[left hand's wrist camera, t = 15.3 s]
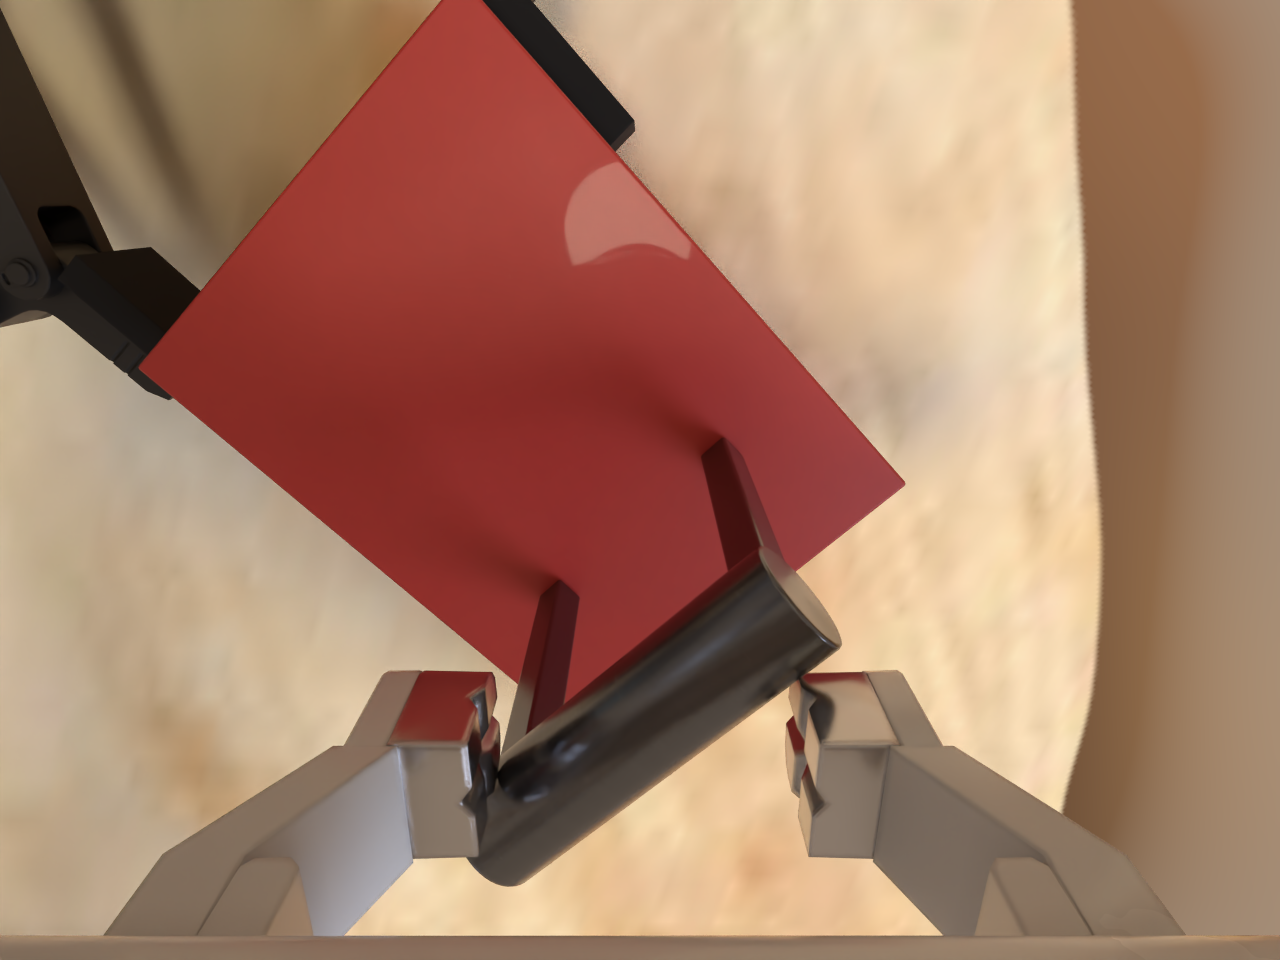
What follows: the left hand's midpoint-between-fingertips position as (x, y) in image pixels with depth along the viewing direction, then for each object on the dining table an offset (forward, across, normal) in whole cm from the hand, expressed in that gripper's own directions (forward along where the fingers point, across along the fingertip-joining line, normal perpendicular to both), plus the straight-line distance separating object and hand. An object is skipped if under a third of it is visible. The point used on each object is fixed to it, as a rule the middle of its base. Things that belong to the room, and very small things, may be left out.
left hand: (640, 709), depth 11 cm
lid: (+7, +2, -2) cm, 8 cm away
